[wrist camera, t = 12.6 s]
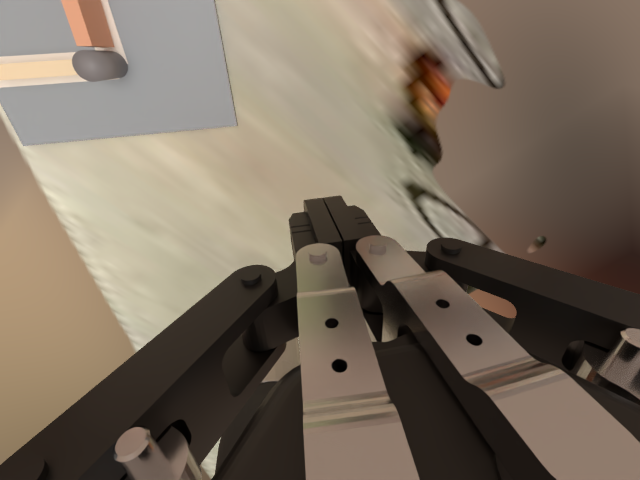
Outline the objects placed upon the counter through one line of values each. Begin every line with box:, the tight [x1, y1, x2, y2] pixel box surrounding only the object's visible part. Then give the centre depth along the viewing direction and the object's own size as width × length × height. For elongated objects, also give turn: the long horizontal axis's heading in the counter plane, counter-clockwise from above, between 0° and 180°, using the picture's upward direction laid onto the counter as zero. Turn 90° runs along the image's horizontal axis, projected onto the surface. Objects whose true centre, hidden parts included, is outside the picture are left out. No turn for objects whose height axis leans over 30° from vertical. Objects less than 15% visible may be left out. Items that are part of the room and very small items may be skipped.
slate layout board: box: [0, 0, 237, 146], centre depth 29 cm, size 18×23×6 cm
